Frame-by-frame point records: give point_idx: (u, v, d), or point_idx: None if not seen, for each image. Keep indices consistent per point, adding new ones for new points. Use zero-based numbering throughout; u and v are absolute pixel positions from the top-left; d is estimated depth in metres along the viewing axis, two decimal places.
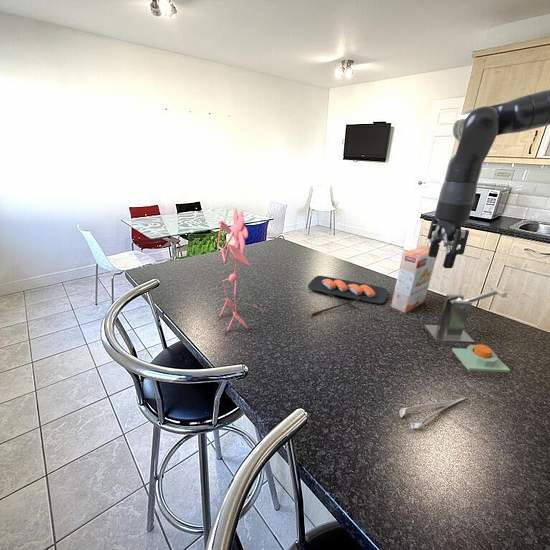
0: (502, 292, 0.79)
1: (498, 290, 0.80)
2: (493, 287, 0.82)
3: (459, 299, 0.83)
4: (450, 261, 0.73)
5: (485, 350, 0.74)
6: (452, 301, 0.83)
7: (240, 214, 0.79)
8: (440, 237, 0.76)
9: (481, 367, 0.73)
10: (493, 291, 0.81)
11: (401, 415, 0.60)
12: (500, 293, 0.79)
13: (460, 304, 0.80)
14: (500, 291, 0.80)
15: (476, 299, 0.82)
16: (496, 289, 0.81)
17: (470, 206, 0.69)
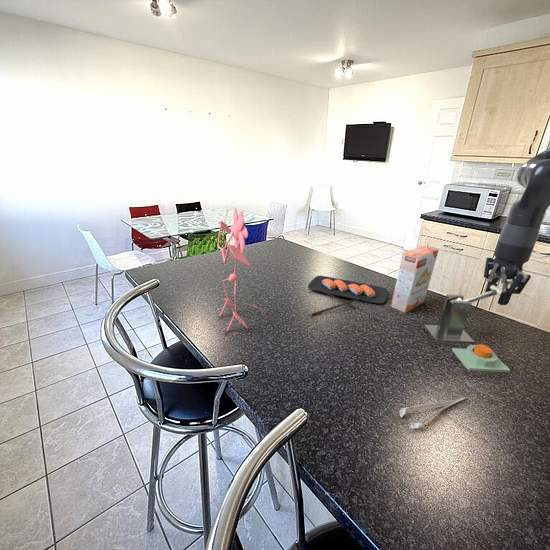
0: None
1: (498, 290, 0.80)
2: (493, 287, 0.82)
3: (459, 299, 0.83)
4: (506, 299, 0.78)
5: (485, 350, 0.74)
6: (452, 301, 0.83)
7: (240, 214, 0.79)
8: (498, 274, 0.80)
9: (481, 367, 0.73)
10: (493, 291, 0.81)
11: (401, 415, 0.60)
12: (500, 293, 0.79)
13: (460, 304, 0.80)
14: (500, 291, 0.80)
15: (476, 299, 0.82)
16: (496, 289, 0.81)
17: (532, 248, 0.73)
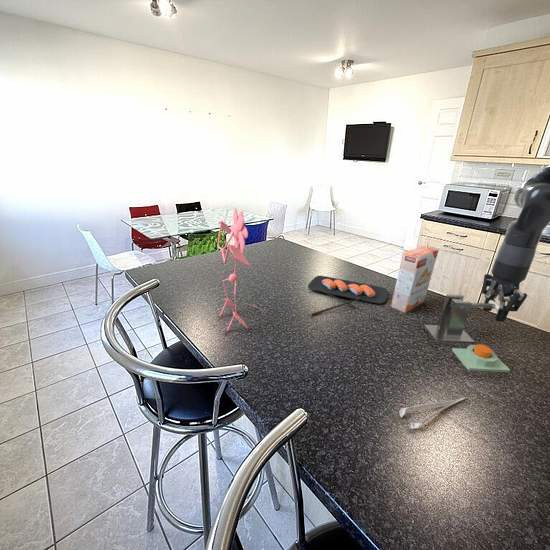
0: None
1: (497, 305, 0.82)
2: (492, 302, 0.84)
3: (461, 300, 0.83)
4: (503, 316, 0.80)
5: (485, 350, 0.74)
6: (454, 299, 0.83)
7: (240, 214, 0.79)
8: (496, 291, 0.82)
9: (481, 367, 0.73)
10: (492, 304, 0.83)
11: (401, 415, 0.60)
12: None
13: (460, 304, 0.80)
14: (499, 306, 0.81)
15: (475, 306, 0.83)
16: (495, 304, 0.83)
17: (529, 267, 0.75)
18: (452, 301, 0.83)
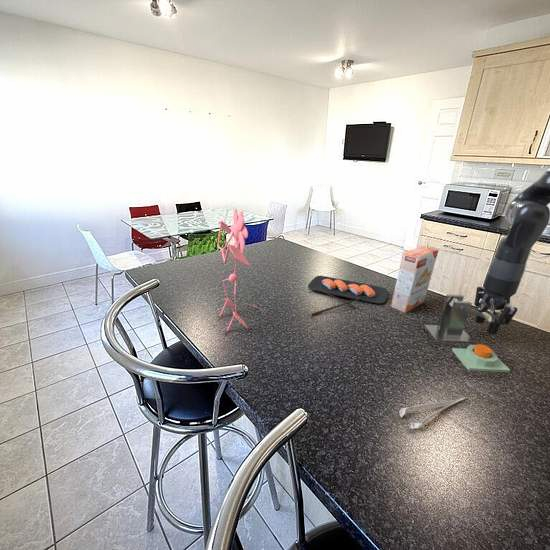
0: None
1: (491, 317, 0.84)
2: (486, 313, 0.85)
3: None
4: (494, 329, 0.81)
5: (485, 350, 0.74)
6: (456, 299, 0.83)
7: (240, 214, 0.79)
8: (487, 304, 0.83)
9: (481, 367, 0.73)
10: (486, 315, 0.84)
11: (401, 415, 0.60)
12: None
13: (460, 304, 0.80)
14: None
15: (472, 311, 0.83)
16: (489, 316, 0.84)
17: (519, 282, 0.77)
18: (454, 300, 0.83)
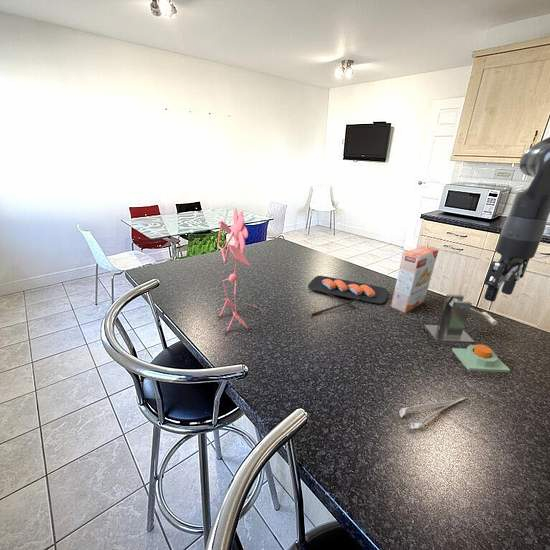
0: (494, 320, 0.82)
1: (491, 317, 0.84)
2: (486, 313, 0.85)
3: None
4: (488, 293, 0.72)
5: (485, 350, 0.74)
6: (456, 299, 0.83)
7: (240, 214, 0.79)
8: None
9: (481, 367, 0.73)
10: (486, 315, 0.84)
11: (401, 415, 0.60)
12: (492, 320, 0.83)
13: (460, 304, 0.80)
14: None
15: (472, 311, 0.83)
16: (489, 316, 0.84)
17: (523, 243, 0.66)
18: (454, 300, 0.83)
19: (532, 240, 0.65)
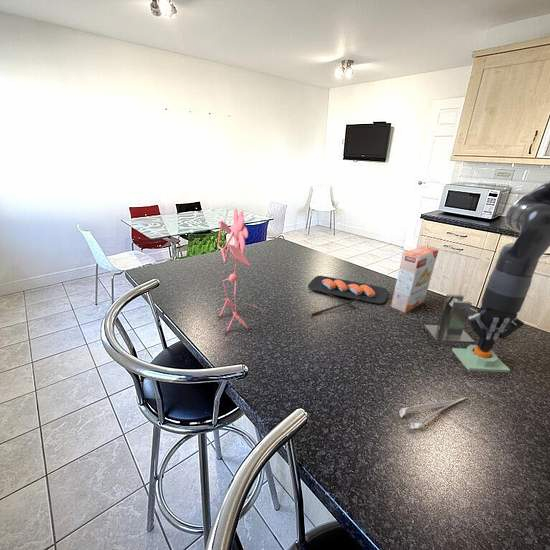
0: None
1: None
2: None
3: None
4: (479, 342, 0.74)
5: None
6: (456, 299, 0.83)
7: (240, 214, 0.79)
8: None
9: (481, 367, 0.73)
10: None
11: (401, 415, 0.60)
12: None
13: (460, 304, 0.80)
14: None
15: (472, 311, 0.83)
16: None
17: (497, 295, 0.66)
18: (454, 300, 0.83)
19: (506, 295, 0.65)
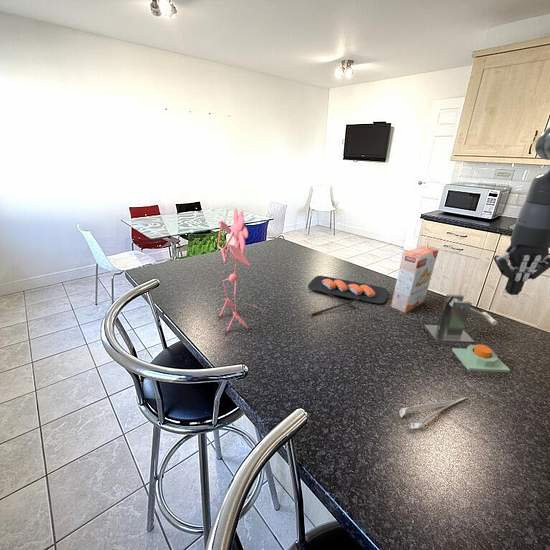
0: (494, 320, 0.82)
1: (491, 317, 0.84)
2: (486, 313, 0.85)
3: None
4: (507, 285, 0.71)
5: (485, 350, 0.74)
6: (456, 299, 0.83)
7: (240, 214, 0.79)
8: None
9: (481, 367, 0.73)
10: (486, 315, 0.84)
11: (401, 415, 0.60)
12: (492, 320, 0.83)
13: (460, 304, 0.80)
14: None
15: (472, 311, 0.83)
16: (489, 316, 0.84)
17: (529, 229, 0.63)
18: (454, 300, 0.83)
19: (539, 227, 0.62)
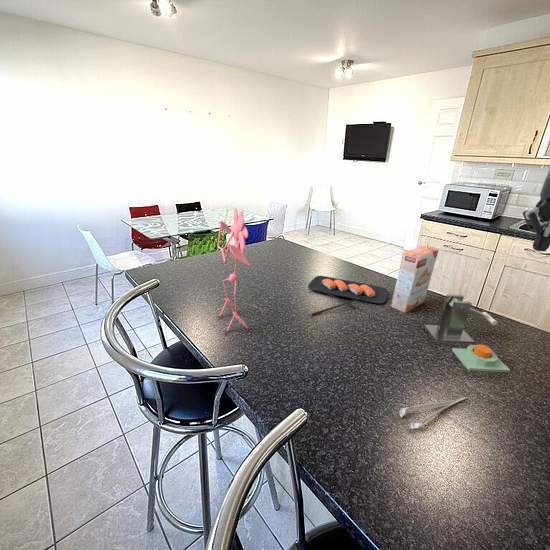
0: (494, 320, 0.82)
1: (491, 317, 0.84)
2: (486, 313, 0.85)
3: None
4: (535, 241, 0.71)
5: (485, 350, 0.74)
6: (456, 299, 0.83)
7: (240, 214, 0.79)
8: None
9: (481, 367, 0.73)
10: (486, 315, 0.84)
11: (401, 415, 0.60)
12: (492, 320, 0.83)
13: (460, 304, 0.80)
14: None
15: (472, 311, 0.83)
16: (489, 316, 0.84)
17: None
18: (454, 300, 0.83)
19: None
